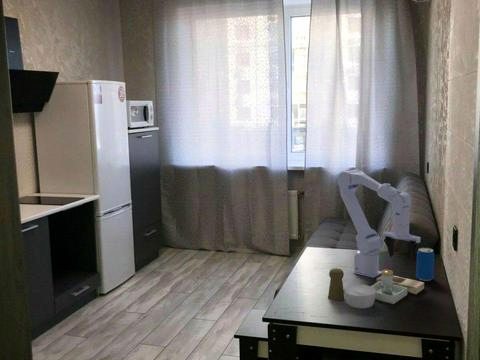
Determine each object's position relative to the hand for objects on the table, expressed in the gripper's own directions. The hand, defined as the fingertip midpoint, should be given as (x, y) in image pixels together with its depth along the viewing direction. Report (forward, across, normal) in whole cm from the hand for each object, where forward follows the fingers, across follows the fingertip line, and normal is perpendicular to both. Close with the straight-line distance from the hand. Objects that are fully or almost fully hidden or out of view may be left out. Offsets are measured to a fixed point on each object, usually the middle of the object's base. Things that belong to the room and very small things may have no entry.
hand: (400, 257), depth 201 cm
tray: (+10, +2, -15) cm, 19 cm away
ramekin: (+11, -2, -28) cm, 30 cm away
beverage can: (+10, +6, +10) cm, 16 cm away
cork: (+10, -12, -29) cm, 33 cm away
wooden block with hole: (+10, +2, -4) cm, 11 cm away
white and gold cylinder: (+10, +2, -15) cm, 18 cm away
